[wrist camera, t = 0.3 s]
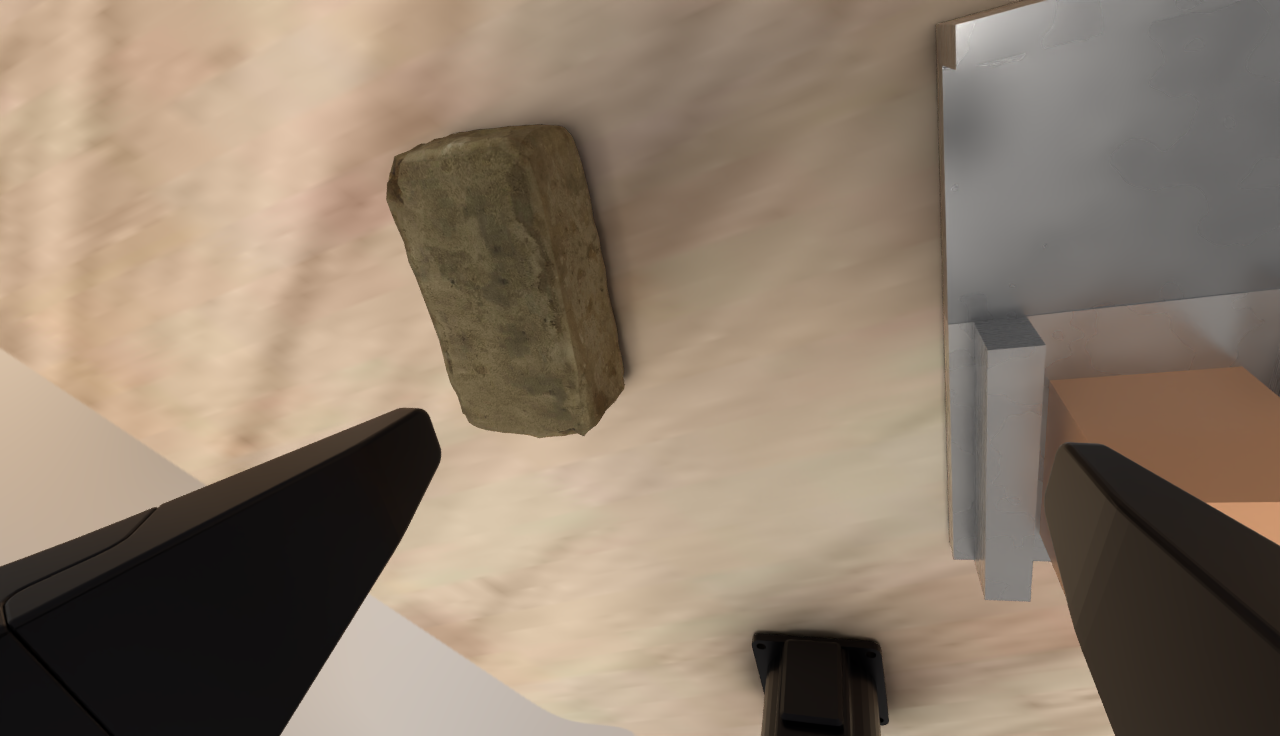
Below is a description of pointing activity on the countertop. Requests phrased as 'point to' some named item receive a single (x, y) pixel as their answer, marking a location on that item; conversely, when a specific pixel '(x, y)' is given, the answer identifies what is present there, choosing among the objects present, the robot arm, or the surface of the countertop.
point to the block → (1179, 436)
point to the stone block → (511, 276)
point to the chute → (1095, 227)
